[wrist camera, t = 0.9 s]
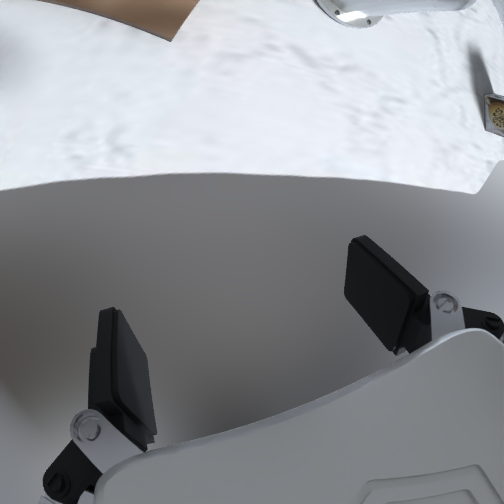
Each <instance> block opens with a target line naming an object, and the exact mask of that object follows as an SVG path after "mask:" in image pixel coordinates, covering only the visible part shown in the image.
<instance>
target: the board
mask: <svg viewBox="0 0 504 504" xmlns="http://www.w3.org/2000/svg"><path fill="white" fill-rule="evenodd" d="M39 1H44V2H49V3H54V4H58V5H63V6H67V7H71V8H75V9H79V10H82V11H86V12H90V13H93V14H96V15H100V16H103V17H106V18H109V19H112V20H115V21H118V22H121V23H124V24H127V25H130V26H132V27H135V28H138V29H140V30H143V31H146V32H148V33H151V34H153V35H156V36H158V37H160V38H163V39H165V40H167V41H170V42H171V41H172V39H173V38H174V36H175V35H176V33H177V32H178V30H179V29H180V27H181V26H182V24H183V23H184V21H185V20H186V18H187V17H188V16H189V14H190V13H191V11H192V10H193V9H194V7H195V6H196V5H197V3H198V2H199V1H200V0H39Z"/></svg>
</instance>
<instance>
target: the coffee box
mask: <svg viewBox="0 0 504 504" xmlns="http://www.w3.org/2000/svg"><path fill="white" fill-rule="evenodd" d="M484 99H485V121H486V131H488V132H491V133H494V134H497V135H499V136H502V137H504V96H501V95H498V94H487V95H484Z"/></svg>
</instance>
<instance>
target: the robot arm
mask: <svg viewBox="0 0 504 504" xmlns="http://www.w3.org/2000/svg"><path fill="white" fill-rule="evenodd" d="M475 1H476V0H317V2H318V3H319V5H320V6H321V8H322V9H323V10H324V11H325V12H326V13H327V14H328V15H329V16H330V17H332V18H333V19H334V20H336V21H337V22H339V23H341V24H343V25H345V26H348V27H352V28H367V27H371V26H374V25H375V24H377V23H378V22H379V21H380V20H381V19H382V17H383V15H389V14H399V13H410V12H426V11H458V10H463V9H466V8H468V7H470V6H471V5H472V4H473V3H474V2H475ZM492 2H493V4H494V6H495V7H496V9H497V12H498V14H499V16H500V19H501V21H502V24H503V27H504V0H492ZM428 292H429V290H428V289H427V288H425V287H424V286H423V285H422V284H421V283H420V282H419V281H418V280H417V279H416V278H415V277H414V276H412V275H411V274H410V273H409V272H408V271H407V270H406V269H404V267H402V266H401V265H400V264H399V263H398V262H397V261H396V260H394V259H393V258H392V257H391V256H390V255H389V254H388V253H386V252H385V251H384V250H383V249H382V248H380V247H379V246H378V245H377V244H376V243H375V242H373V241H372V240H371V239H370V238H369V237H367V236H366V235H363V236H360V237H356V238H353V239H352V241H351V243H349V246H348V257H347V269H346V279H345V287H344V295H345V297H346V299H347V300H348V301H349V303H350V304H351V305H352V306H353V307H354V309H355V310H356V311H357V312H358V314H359V315H360V316H361V317H362V318H363V320H364V321H365V322H366V323H367V325H368V326H369V327H370V328H371V329H372V331H373V332H374V333H375V334H376V336H377V337H378V338H379V340H380V341H381V342H382V343H383V345H384V346H385V347H386V348H387V349H388V350H389V351H393V353H394V354H395V355H396V356H397V355H399V354H401V353H403V352H405V351H406V350H407V351H408V352H409V355H407V356H405V357H403V358H401V359H399V360H397V361H396V362H394V363H393V364H390V365H388V366H387V367H385V368H383V369H381V370H379V371H377V372H375V373H373V374H371V375H369V376H367V377H365V378H363V379H361V380H359V381H357V382H355V383H353V384H351V385H348V386H346V387H344V388H342V389H340V390H338V391H335V392H333V393H331V394H329V395H326V396H324V397H322V398H319V399H317V400H314V401H312V402H310V403H307V404H305V405H302V406H300V407H297V408H294V409H292V410H290V411H286V412H284V413H281V414H278V415H275V416H273V417H270V418H267V419H264V420H261V421H258V422H255V423H252V424H249V425H246V426H242V427H239V428H236V429H232V430H229V431H225V432H222V433H219V434H215V435H211V436H207V437H203V438H200V439H196V440H192V441H188V442H183V443H179V444H175V445H171V446H167V447H163V448H159V449H155V450H150V451H148V452H146V451H147V444H149V443H154V437H153V435H156V434H157V428H156V423H155V416H154V409H153V403H152V395H151V387H150V379H149V370H148V361H147V357H146V354H145V352H144V351H143V349H142V348H141V346H140V344H139V342H138V341H137V339H136V337H135V335H134V334H133V332H132V330H131V328H130V326H129V324H128V323H127V321H126V319H125V317H124V315H123V314H122V312H121V310H116V309H115V308H114V307H111V308H108V309H104V310H101V311H100V312H99V321H98V332H97V344H96V347H95V348H92V349H91V353H90V369H89V390H88V391H89V392H88V393H89V394H88V409H86V410H82V411H80V412H79V413H77V414H76V415H75V416H74V418H73V419H72V422H71V424H70V435H71V437H72V440H71V441H70V443H69V444H68V445H67V446H66V447H65V449H64V450H63V451H62V452H61V454H60V455H59V456H58V457H57V458H56V459H55V461H54V462H53V463H52V464H51V466H50V467H49V468H48V469H47V470H46V472H45V474H44V477H43V487H44V490H45V492H46V493H45V496H44V497H43V496H41V497H40V500H39V503H38V504H504V323H503V321H502V320H501V318H500V317H499V316H497V315H496V314H494V313H491V312H486V311H481V310H475V309H471V308H465V307H462V306H461V302H460V300H459V299H458V298H457V297H456V296H455V295H454V294H452V293H450V292H447V291H437V292H435V293H433V294H432V295H431V296H430V295H429V294H428Z"/></svg>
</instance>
